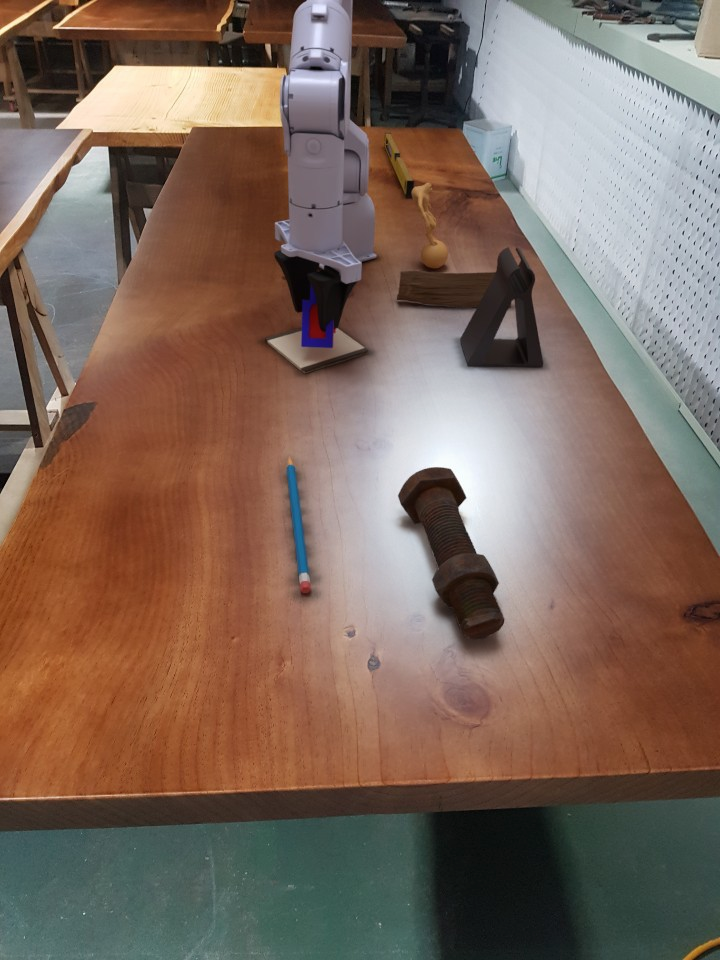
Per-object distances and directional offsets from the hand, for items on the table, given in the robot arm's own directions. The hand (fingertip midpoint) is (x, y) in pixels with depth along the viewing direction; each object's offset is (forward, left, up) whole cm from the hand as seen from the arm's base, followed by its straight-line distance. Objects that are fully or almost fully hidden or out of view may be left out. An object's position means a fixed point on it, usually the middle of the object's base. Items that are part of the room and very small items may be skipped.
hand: (316, 319), depth 83 cm
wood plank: (-22, 0, -4) cm, 22 cm away
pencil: (+18, +25, -4) cm, 31 cm away
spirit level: (-53, -53, -4) cm, 75 cm away
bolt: (+11, +37, -4) cm, 39 cm away
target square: (0, 0, -4) cm, 4 cm away
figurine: (-27, -12, -4) cm, 30 cm away
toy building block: (0, +1, -2) cm, 2 cm away
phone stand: (-18, +13, -4) cm, 23 cm away
